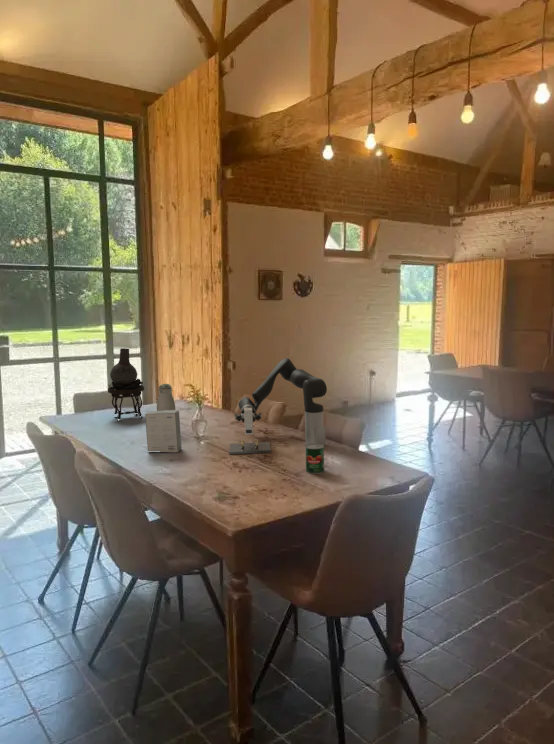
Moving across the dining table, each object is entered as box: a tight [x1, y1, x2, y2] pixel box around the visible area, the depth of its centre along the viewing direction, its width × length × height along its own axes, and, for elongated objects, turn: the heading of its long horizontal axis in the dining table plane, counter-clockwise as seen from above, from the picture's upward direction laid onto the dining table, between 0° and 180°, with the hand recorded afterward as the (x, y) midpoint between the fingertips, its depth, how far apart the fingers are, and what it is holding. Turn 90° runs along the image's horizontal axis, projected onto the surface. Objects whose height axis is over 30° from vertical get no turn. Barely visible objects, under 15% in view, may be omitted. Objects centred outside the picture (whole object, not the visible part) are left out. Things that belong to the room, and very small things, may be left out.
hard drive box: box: [144, 409, 182, 453], centre depth 284 cm, size 16×8×20 cm, turn 84°
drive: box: [244, 408, 254, 436], centre depth 282 cm, size 6×4×12 cm, turn 3°
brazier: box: [107, 348, 145, 419], centre depth 368 cm, size 22×22×45 cm
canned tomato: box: [305, 444, 325, 475], centre depth 244 cm, size 8×8×11 cm
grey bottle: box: [156, 383, 176, 411], centre depth 323 cm, size 10×10×28 cm
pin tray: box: [228, 438, 272, 455], centre depth 283 cm, size 16×20×4 cm
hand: (248, 420), depth 279 cm, fingers closed on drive, 4 cm apart
